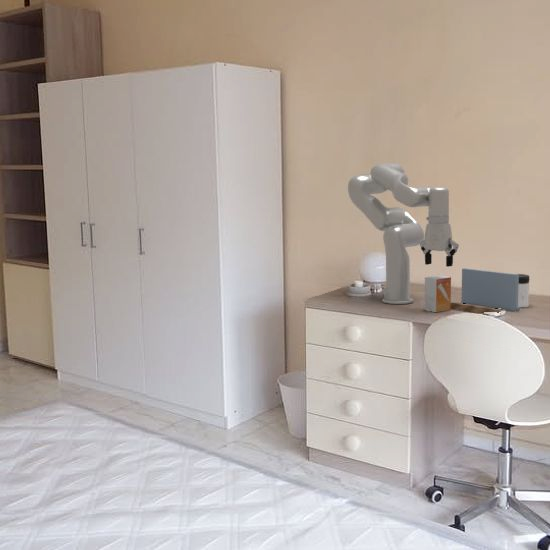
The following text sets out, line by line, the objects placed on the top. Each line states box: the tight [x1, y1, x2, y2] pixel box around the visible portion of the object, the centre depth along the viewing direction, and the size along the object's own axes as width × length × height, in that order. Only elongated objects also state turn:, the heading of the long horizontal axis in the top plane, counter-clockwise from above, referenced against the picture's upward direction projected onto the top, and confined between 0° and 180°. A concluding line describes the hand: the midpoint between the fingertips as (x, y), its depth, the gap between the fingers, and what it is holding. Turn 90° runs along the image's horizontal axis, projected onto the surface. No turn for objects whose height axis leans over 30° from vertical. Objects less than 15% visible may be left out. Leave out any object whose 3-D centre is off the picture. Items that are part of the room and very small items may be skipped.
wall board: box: [460, 267, 521, 312], centre depth 279 cm, size 24×3×14 cm, turn 41°
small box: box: [424, 274, 452, 313], centre depth 275 cm, size 8×6×13 cm
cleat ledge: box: [450, 301, 502, 314], centre depth 272 cm, size 24×2×2 cm, turn 41°
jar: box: [518, 273, 530, 309], centre depth 279 cm, size 9×8×12 cm
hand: (438, 265), depth 273 cm, fingers open, 9 cm apart
